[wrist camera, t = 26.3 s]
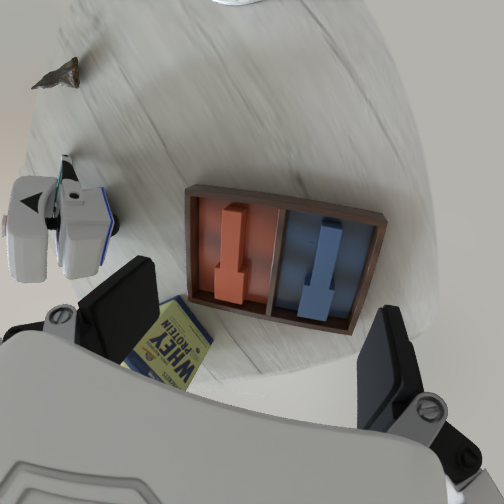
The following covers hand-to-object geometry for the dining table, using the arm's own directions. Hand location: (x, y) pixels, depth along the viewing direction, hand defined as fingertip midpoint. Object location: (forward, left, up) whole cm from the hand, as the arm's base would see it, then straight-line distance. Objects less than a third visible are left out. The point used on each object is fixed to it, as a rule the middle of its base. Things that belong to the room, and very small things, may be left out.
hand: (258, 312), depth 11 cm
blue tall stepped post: (+10, +4, -24) cm, 26 cm away
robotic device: (+6, -34, -24) cm, 42 cm away
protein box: (+28, -20, -24) cm, 42 cm away
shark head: (-17, -40, -24) cm, 50 cm away
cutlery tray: (+10, -2, -24) cm, 26 cm away
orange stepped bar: (+10, -8, -24) cm, 27 cm away
